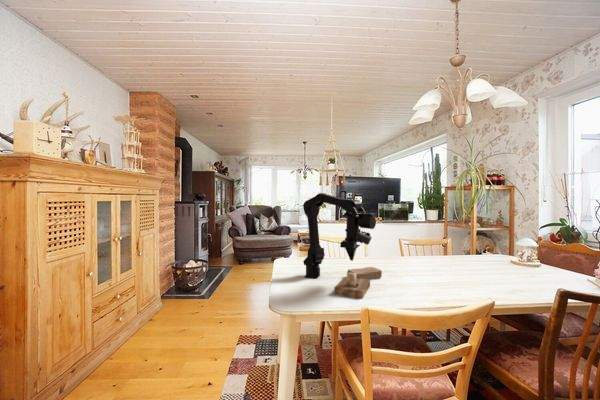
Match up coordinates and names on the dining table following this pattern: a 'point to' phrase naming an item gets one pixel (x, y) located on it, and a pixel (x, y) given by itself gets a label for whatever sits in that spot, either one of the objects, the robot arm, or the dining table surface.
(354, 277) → the peg
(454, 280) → the dining table surface
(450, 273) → the dining table surface
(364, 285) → the seat board
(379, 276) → the brick
